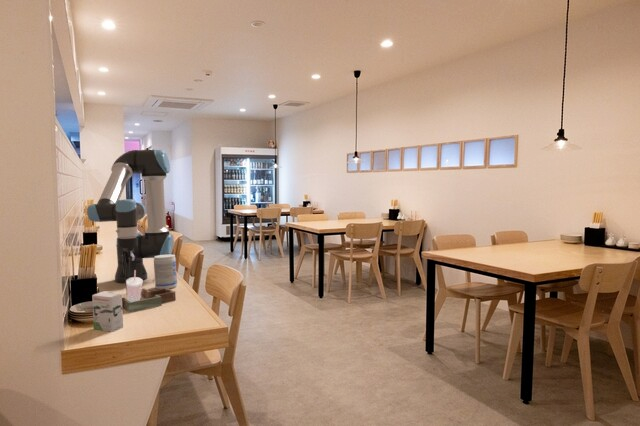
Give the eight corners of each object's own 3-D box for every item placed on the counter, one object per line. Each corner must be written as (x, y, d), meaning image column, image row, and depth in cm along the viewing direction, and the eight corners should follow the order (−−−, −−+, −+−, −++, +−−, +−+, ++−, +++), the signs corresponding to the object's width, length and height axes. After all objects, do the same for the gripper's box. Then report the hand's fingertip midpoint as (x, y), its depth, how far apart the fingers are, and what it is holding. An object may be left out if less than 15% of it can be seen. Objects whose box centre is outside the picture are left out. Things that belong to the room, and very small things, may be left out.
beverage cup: (134, 306, 172) (135, 276, 167) (122, 300, 173) (123, 270, 168) (145, 299, 177) (146, 269, 172) (133, 293, 179) (134, 264, 174)
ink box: (92, 329, 142) (90, 294, 142) (105, 324, 147) (103, 290, 146) (112, 332, 139) (110, 296, 138) (124, 327, 144) (122, 292, 143)
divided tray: (95, 305, 171) (95, 297, 170) (160, 293, 188) (160, 285, 187) (109, 316, 156) (109, 307, 156) (178, 301, 173) (178, 293, 173)
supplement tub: (179, 287, 197) (178, 256, 196) (158, 291, 192) (156, 258, 191) (174, 283, 205) (172, 253, 204) (153, 287, 200) (151, 255, 199)
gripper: (113, 236, 178) (116, 292, 180) (122, 239, 168) (125, 298, 170) (132, 235, 183) (134, 289, 184) (142, 237, 173) (145, 295, 175)
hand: (130, 294), depth 177 cm, fingers closed
